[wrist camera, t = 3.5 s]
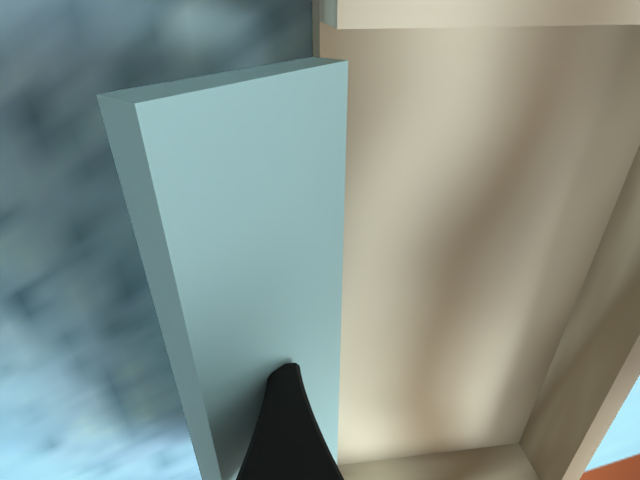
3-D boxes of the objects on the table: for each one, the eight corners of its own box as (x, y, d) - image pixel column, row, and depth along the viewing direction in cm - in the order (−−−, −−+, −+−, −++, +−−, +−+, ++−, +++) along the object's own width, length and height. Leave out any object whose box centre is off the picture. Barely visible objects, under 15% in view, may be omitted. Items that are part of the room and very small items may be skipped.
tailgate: (348, 60, 9) (134, 103, 5) (336, 478, 17) (249, 599, 14) (312, 56, 9) (95, 94, 6) (317, 463, 18) (229, 577, 14)
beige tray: (699, -68, 10) (910, -97, 7) (509, 435, 21) (556, 519, 18) (311, -71, 9) (338, -107, 6) (318, 458, 20) (329, 552, 17)
